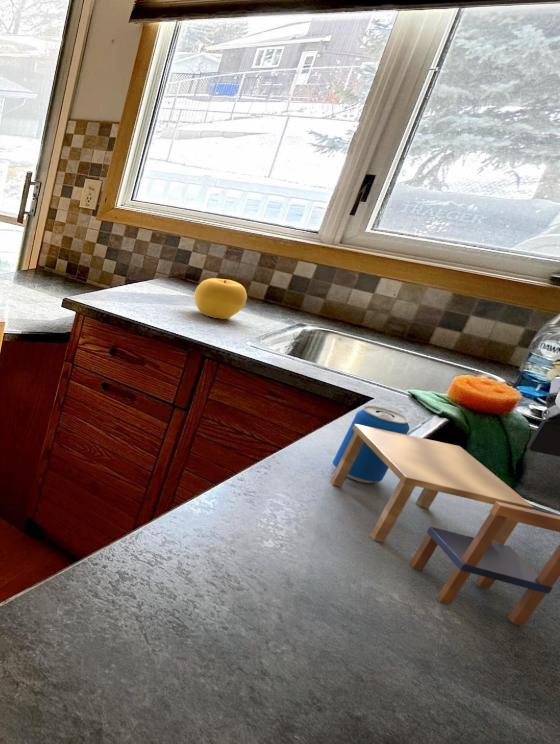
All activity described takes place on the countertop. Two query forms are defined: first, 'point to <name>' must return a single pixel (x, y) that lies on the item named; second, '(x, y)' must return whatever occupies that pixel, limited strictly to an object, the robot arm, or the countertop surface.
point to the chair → (494, 558)
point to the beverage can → (367, 461)
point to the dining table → (427, 475)
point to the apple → (220, 298)
